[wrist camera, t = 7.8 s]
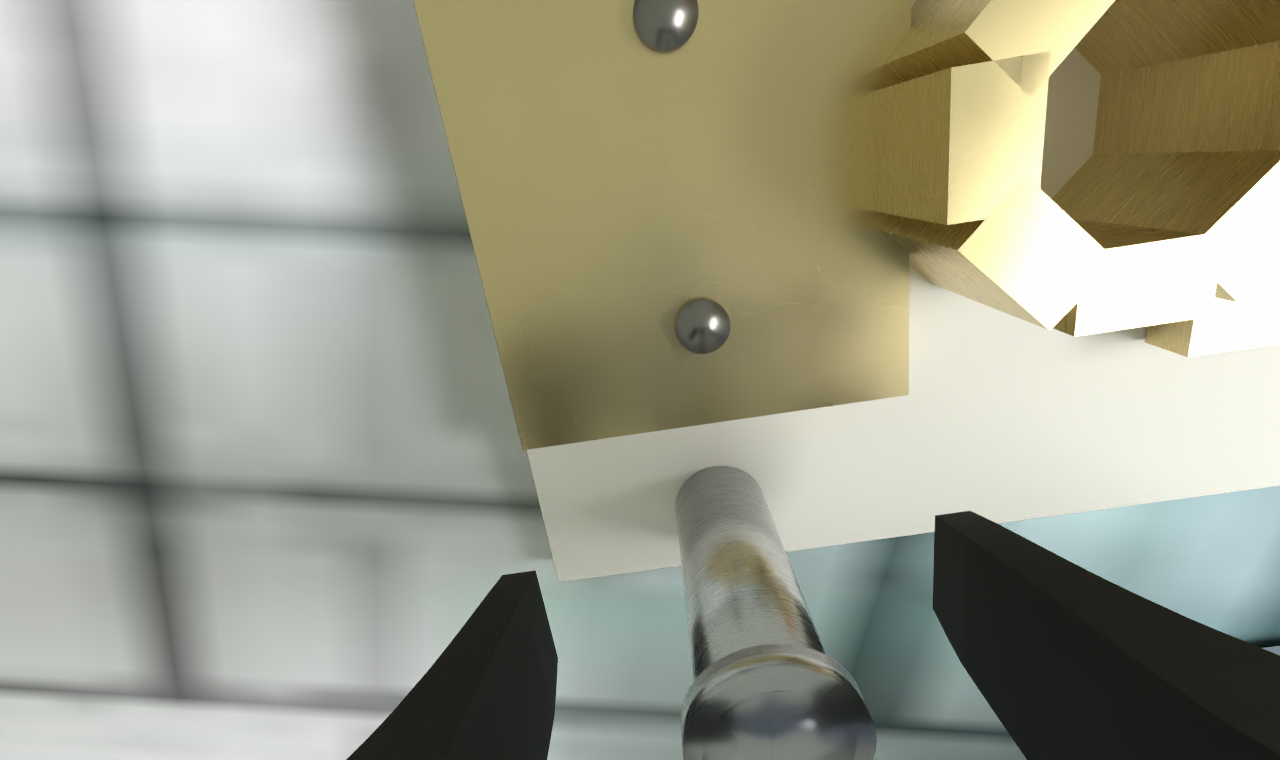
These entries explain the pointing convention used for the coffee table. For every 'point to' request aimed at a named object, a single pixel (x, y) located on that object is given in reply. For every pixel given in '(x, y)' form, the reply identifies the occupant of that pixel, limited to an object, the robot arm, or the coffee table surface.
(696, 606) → the pin
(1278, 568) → the coffee table surface
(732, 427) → the board
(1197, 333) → the loose leaf
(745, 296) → the fixed leaf
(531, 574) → the robot arm
